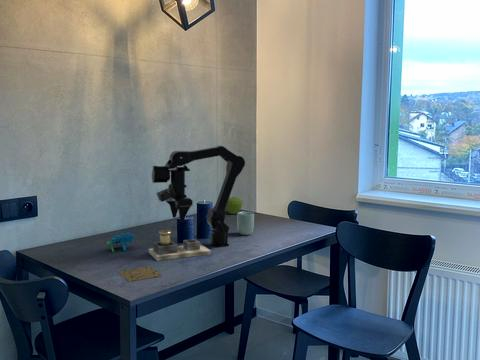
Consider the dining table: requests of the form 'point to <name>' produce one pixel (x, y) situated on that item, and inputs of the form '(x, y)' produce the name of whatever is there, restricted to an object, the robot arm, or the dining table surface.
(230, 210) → the apple
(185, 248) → the board
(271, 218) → the dining table surface
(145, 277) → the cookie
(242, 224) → the cup
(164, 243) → the cylinder
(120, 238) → the blue green toy animal
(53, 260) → the dining table surface
